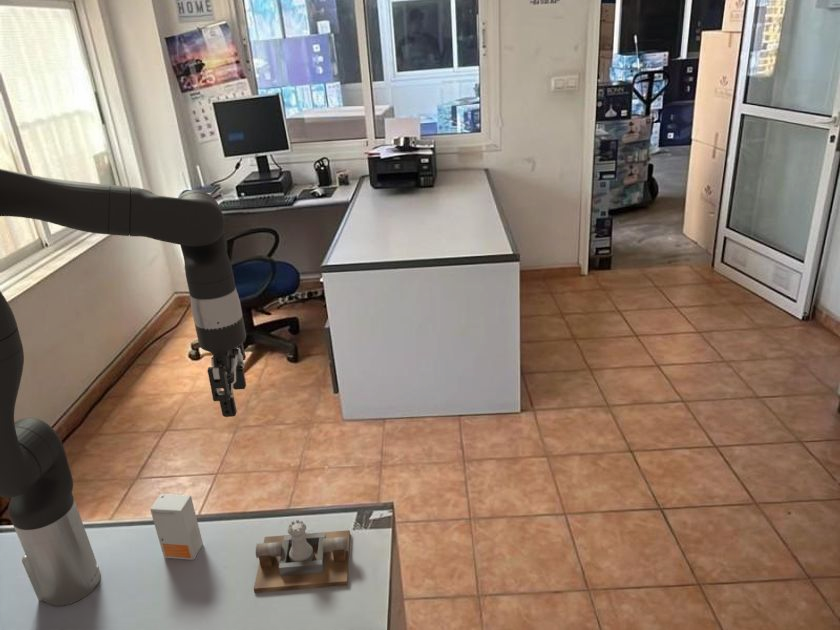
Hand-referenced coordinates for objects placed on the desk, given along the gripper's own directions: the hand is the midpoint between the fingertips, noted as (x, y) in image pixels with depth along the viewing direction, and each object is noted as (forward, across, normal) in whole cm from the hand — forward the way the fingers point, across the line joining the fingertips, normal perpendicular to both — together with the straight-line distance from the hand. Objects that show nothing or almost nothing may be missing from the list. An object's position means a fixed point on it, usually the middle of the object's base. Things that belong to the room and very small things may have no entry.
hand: (235, 401), depth 110 cm
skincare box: (+30, -3, +14) cm, 34 cm away
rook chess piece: (+29, -8, -9) cm, 32 cm away
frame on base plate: (+30, -8, -9) cm, 32 cm away
